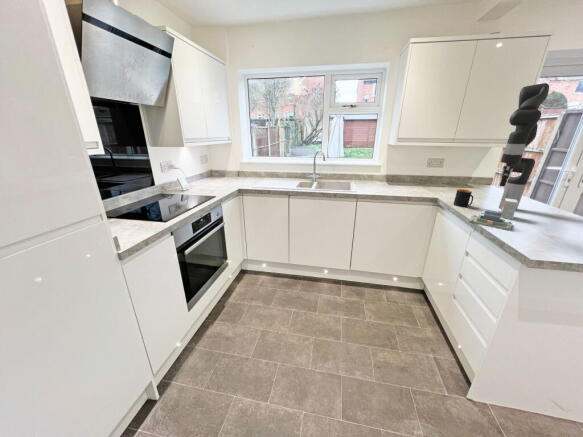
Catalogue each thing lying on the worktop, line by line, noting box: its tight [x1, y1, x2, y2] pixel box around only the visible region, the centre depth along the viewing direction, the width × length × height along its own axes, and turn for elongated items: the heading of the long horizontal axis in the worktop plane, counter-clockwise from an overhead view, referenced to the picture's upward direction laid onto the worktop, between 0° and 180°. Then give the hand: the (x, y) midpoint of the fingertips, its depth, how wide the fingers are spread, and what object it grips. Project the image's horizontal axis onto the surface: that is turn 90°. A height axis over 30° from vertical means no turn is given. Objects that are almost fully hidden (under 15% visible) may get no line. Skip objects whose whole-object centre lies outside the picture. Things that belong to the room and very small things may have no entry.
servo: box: [480, 208, 505, 222], centre depth 128 cm, size 4×10×7 cm, turn 46°
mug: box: [453, 189, 474, 208], centre depth 159 cm, size 8×12×10 cm
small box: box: [500, 198, 519, 220], centre depth 139 cm, size 8×6×10 cm
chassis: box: [468, 214, 513, 231], centre depth 130 cm, size 12×18×3 cm, turn 47°
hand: (502, 184), depth 122 cm, fingers open, 8 cm apart
